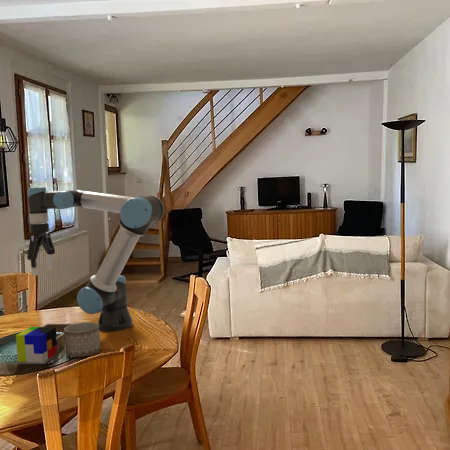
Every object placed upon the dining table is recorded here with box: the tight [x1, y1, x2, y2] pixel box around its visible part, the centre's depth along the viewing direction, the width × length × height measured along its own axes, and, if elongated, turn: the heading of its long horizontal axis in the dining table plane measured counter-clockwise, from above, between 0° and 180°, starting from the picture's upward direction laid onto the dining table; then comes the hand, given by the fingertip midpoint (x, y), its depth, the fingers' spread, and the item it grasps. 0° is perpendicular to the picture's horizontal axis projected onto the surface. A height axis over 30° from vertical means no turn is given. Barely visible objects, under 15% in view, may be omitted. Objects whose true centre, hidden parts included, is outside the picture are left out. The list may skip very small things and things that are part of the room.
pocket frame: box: [41, 322, 76, 351], centre depth 204 cm, size 23×14×4 cm, turn 173°
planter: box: [64, 321, 101, 358], centre depth 190 cm, size 13×13×10 cm
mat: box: [18, 353, 58, 365], centre depth 186 cm, size 10×10×1 cm
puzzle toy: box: [15, 326, 58, 363], centre depth 186 cm, size 10×10×10 cm
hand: (43, 271), depth 217 cm, fingers open, 13 cm apart
